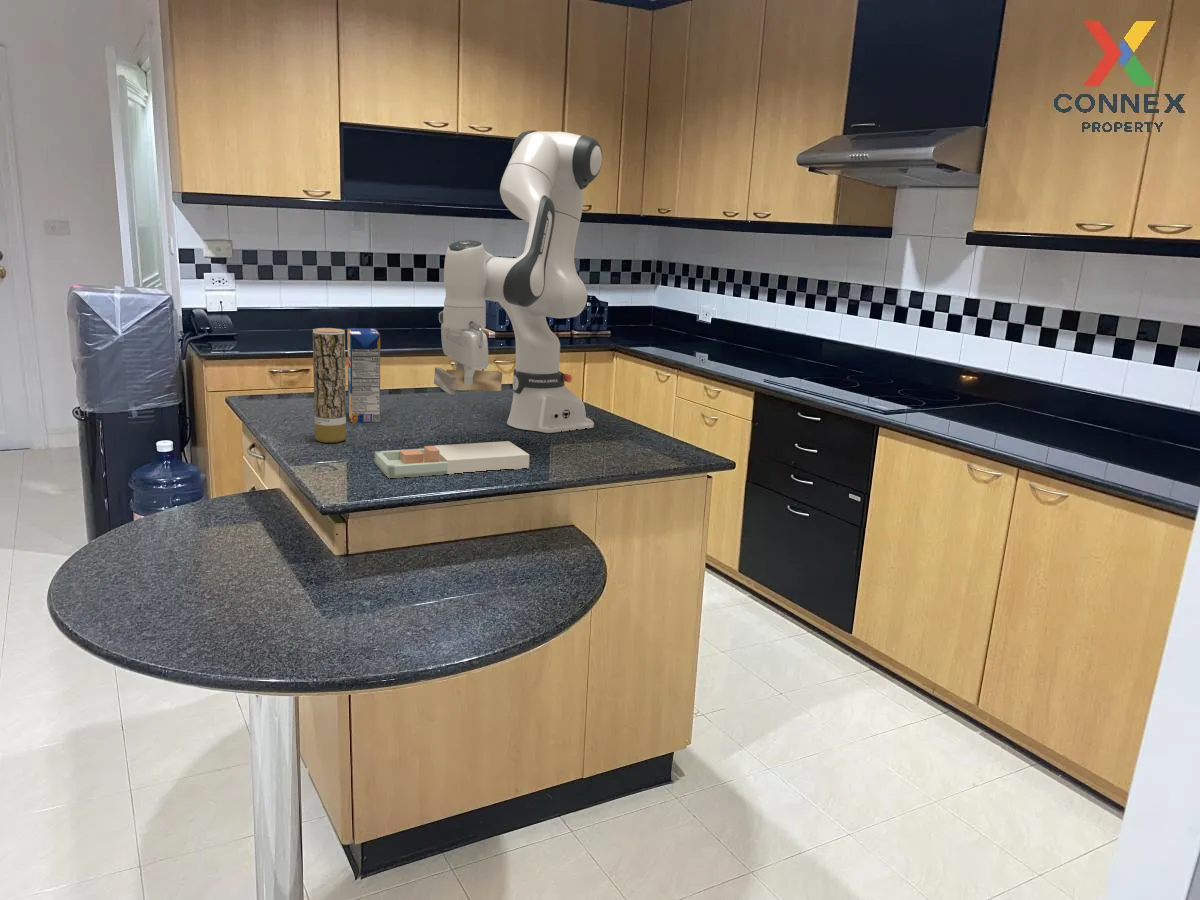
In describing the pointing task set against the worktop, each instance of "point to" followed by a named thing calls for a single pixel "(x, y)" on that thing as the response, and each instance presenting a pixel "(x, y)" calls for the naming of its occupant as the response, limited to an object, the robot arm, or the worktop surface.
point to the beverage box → (363, 375)
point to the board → (482, 456)
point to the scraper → (454, 381)
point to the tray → (406, 465)
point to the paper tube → (329, 384)
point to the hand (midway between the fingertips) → (464, 382)
